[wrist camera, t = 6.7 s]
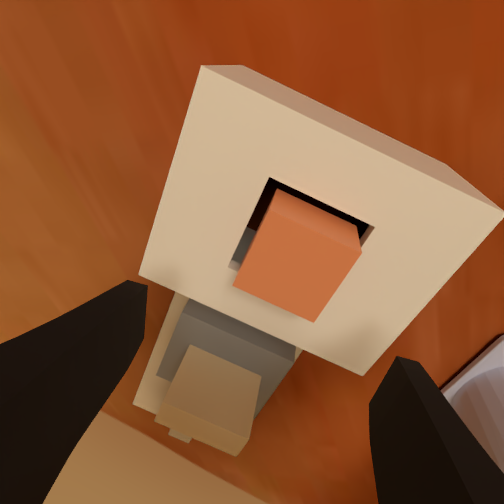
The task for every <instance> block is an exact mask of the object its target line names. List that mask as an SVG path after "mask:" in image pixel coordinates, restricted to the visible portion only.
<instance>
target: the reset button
mask: <svg viewBox="0 0 504 504" xmlns="http://www.w3.org/2000/svg"><path fill="white" fill-rule="evenodd" d="M361 254H362V250H361V246H360V241H359V236H358V231H357V227H356V225H354V224H351V223H349V222H347V221H345V220H343V219H341V218H339V217H337V216H334V215H332V214H330V213H328V212H326V211H324V210H322V209H320V208H318V207H315V206H313V205H311V204H309V203H307V202H305V201H303V200H301V199H299V198H296V197H294V196H292V195H290V194H288V193H286V192H284V191H282V190H280V189H276V191H275V193H274V196H273V198H272V200H271V202H270V204H269V206H268V208H267V210H266V212H265V214H264V216H263V218H262V220H261V223H260V225H259V227H258V229H257V231H256V233H255V235H254V237H253V239H252V241H251V243H250V245H249V247H248V249H247V252H246V254H245V256H244V258H243V260H242V263H241V265H240V268H239V270H238V273H237V275H236V278H235V280H234V282H233V285H232V286H234V287H236V288H238V289H240V290H243V291H245V292H247V293H249V294H251V295H254V296H256V297H258V298H260V299H262V300H265V301H267V302H269V303H271V304H273V305H275V306H278V307H280V308H282V309H284V310H286V311H289V312H291V313H293V314H295V315H297V316H299V317H302V318H304V319H306V320H308V321H310V322H313V323H314V322H315V320H316V319H317V318H318V316H319V315H320V313H321V312H322V310H323V309H324V307H325V306H326V305H327V303H328V302H329V300H330V299H331V297H332V296H333V294H334V293H335V292H336V290H337V289H338V287H339V286H340V284H341V283H342V281H343V280H344V279H345V277H346V276H347V274H348V273H349V271H350V270H351V268H352V267H353V265H354V264H355V263H356V261H357V260H358V258H359V257H360V255H361Z"/></svg>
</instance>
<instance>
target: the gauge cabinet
mask: <svg viewBox="0 0 504 504" xmlns="http://www.w3.org/2000/svg"><path fill="white" fill-rule="evenodd" d="M269 177H271V178H273V179H275V180H277V181H279V182H281V183H283V184H285V185H287V186H290V187H292V188H294V189H296V190H298V191H300V192H302V193H304V194H306V195H309V196H311V197H313V198H315V199H317V200H319V201H321V202H323V203H325V204H328V205H330V206H332V207H334V208H336V209H338V210H340V211H342V212H344V213H346V214H349V215H351V216H353V217H355V218H357V219H359V220H361V221H363V222H365V223H368V224H370V225H369V227H368V228H367V230H366V231H365V233H364V234H363V236H362V237H361V239H360V240H359V241H360V246H361V250H362V254H361V255H360V257H359V258H358V260H357V261H356V263H355V264H354V265H353V267H352V268H351V270H350V271H349V273H348V274H347V276H346V277H345V279H344V280H343V281H342V283H341V284H340V286H339V287H338V289H337V290H336V292H335V293H334V294H333V296H332V297H331V299H330V300H329V302H328V303H327V305H326V306H325V307H324V309H323V310H322V312H321V313H320V315H319V316H318V318H317V319H316V320H315V322H314V323H313V322H310V321H308V320H306V319H304V318H302V317H299V316H297V315H295V314H293V313H291V312H289V311H286V310H284V309H282V308H280V307H278V306H275V305H273V304H271V303H269V302H267V301H265V300H262V299H260V298H258V297H256V296H254V295H251V294H249V293H247V292H245V291H243V290H240V289H238V288H236V287H234V286H232V285H233V282H234V280H235V278H236V275H237V273H238V270H239V268H240V265H241V263H242V260H243V258H244V256H245V254H246V252H247V249H248V247H249V245H250V243H251V241H252V239H253V237H254V235H255V233H256V231H255V230H252V229H250V228H248V227H246V226H247V224H248V222H249V220H250V217H251V215H252V213H253V211H254V209H255V207H256V204H257V202H258V200H259V198H260V196H261V194H262V191H263V189H264V187H265V185H266V183H267V181H268V178H269ZM503 218H504V211H503V210H502V209H501V208H499V207H498V206H497V205H496V204H494V203H493V202H492V201H491V200H489V199H488V198H487V197H486V196H484V195H483V194H482V193H481V192H480V191H478V190H477V189H476V188H475V187H473V186H472V185H471V184H470V183H468V182H467V181H466V180H465V179H463V178H462V177H461V176H460V175H459V174H457V173H456V172H455V171H454V170H452V169H451V168H450V167H449V166H447V165H446V164H444V163H442V162H440V161H438V160H436V159H434V158H432V157H430V156H428V155H426V154H424V153H422V152H420V151H418V150H416V149H414V148H412V147H409V146H407V145H405V144H403V143H401V142H399V141H397V140H395V139H393V138H391V137H389V136H387V135H385V134H383V133H381V132H379V131H377V130H375V129H373V128H370V127H368V126H366V125H364V124H362V123H360V122H358V121H356V120H354V119H352V118H350V117H348V116H346V115H344V114H342V113H340V112H338V111H336V110H334V109H331V108H329V107H327V106H325V105H323V104H321V103H319V102H317V101H315V100H313V99H311V98H309V97H307V96H305V95H303V94H301V93H299V92H297V91H295V90H292V89H290V88H288V87H286V86H284V85H282V84H280V83H278V82H276V81H274V80H272V79H270V78H268V77H266V76H264V75H262V74H260V73H258V72H256V71H253V70H251V69H249V68H247V67H245V66H243V65H208V66H201V68H200V72H199V75H198V78H197V81H196V85H195V88H194V91H193V95H192V98H191V101H190V105H189V108H188V111H187V115H186V118H185V121H184V125H183V128H182V131H181V135H180V138H179V141H178V145H177V148H176V151H175V154H174V158H173V161H172V164H171V168H170V171H169V174H168V178H167V181H166V184H165V188H164V191H163V194H162V198H161V201H160V204H159V208H158V211H157V214H156V218H155V221H154V224H153V227H152V231H151V234H150V237H149V241H148V244H147V247H146V251H145V254H144V257H143V261H142V264H141V267H140V271H139V274H138V275H140V276H142V277H144V278H147V279H149V280H151V281H153V282H156V283H158V284H160V285H162V286H164V287H167V288H169V289H171V290H173V291H175V292H178V293H180V294H182V295H184V296H186V297H189V298H191V299H193V300H195V301H197V302H200V303H202V304H204V305H206V306H208V307H211V308H213V309H215V310H217V311H220V312H222V313H224V314H226V315H228V316H231V317H233V318H235V319H237V320H239V321H242V322H244V323H246V324H248V325H250V326H253V327H255V328H257V329H259V330H261V331H264V332H266V333H268V334H270V335H272V336H275V337H277V338H279V339H281V340H284V341H286V342H288V343H290V344H292V345H295V346H297V347H299V348H301V349H303V350H306V351H308V352H310V353H312V354H314V355H317V356H319V357H321V358H323V359H325V360H328V361H330V362H332V363H334V364H336V365H339V366H341V367H343V368H345V369H348V370H350V371H352V372H354V373H356V374H359V375H361V376H363V375H364V374H365V373H366V372H367V371H368V370H369V368H370V367H371V366H372V365H373V364H374V363H375V362H376V361H377V359H378V358H379V357H380V356H381V355H382V354H383V353H384V352H385V350H386V349H387V348H388V347H389V346H390V345H391V344H392V343H393V341H394V340H395V339H396V338H397V337H398V336H399V335H400V334H401V332H402V331H403V330H404V329H405V328H406V327H407V326H408V325H409V323H410V322H411V321H412V320H413V319H414V318H415V317H416V316H417V314H418V313H419V312H420V311H421V310H422V309H423V308H424V307H425V305H426V304H427V303H428V302H429V301H430V300H431V299H432V297H433V296H434V295H435V294H436V293H437V292H438V291H439V290H440V288H441V287H442V286H443V285H444V284H445V283H446V282H447V281H448V279H449V278H450V277H451V276H452V275H453V274H454V273H455V272H456V270H457V269H458V268H459V267H460V266H461V265H462V264H463V263H464V261H465V260H466V259H467V258H468V257H469V256H470V255H471V254H472V252H473V251H474V250H475V249H476V248H477V247H478V246H479V245H480V243H481V242H482V241H483V240H484V239H485V238H486V237H487V236H488V234H489V233H490V232H491V231H492V230H493V229H494V228H495V227H496V225H497V224H498V223H499V222H500V221H501V220H502V219H503Z"/></svg>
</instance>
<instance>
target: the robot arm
mask: <svg viewBox="0 0 504 504" xmlns="http://www.w3.org/2000/svg"><path fill="white" fill-rule="evenodd" d="M147 289H148V286H147V285H144V284H140V283H136V282H133V281H129V280H127V281H125V282H123V283H121V284H119V285H117V286H115V287H114V288H112V289H110V290H108V291H106V292H104V293H103V294H101V295H99V296H97V297H95V298H93V299H92V300H90V301H88V302H86V303H84V304H82V305H81V306H79V307H77V308H75V309H73V310H71V311H69V312H67V313H65V314H63V315H61V316H60V317H58V318H56V319H54V320H51V321H49V322H47V323H45V324H43V325H41V326H39V327H37V328H35V329H33V330H30V331H28V332H26V333H24V334H22V335H20V336H18V337H15V338H13V339H11V340H9V341H6V342H4V343H1V344H0V504H43V502H44V500H45V498H46V496H47V494H48V493H49V491H50V489H51V487H52V485H53V484H54V482H55V480H56V479H57V477H58V475H59V473H60V471H61V470H62V468H63V466H64V464H65V463H66V461H67V459H68V457H69V456H70V454H71V452H72V451H73V449H74V448H75V446H76V444H77V443H78V441H79V440H80V438H81V437H82V436H83V434H84V433H85V431H86V430H87V428H88V427H89V425H90V424H91V422H92V420H93V419H94V418H95V416H96V415H97V414H98V412H99V411H100V409H101V408H102V406H103V405H104V403H105V402H106V401H107V399H108V398H109V396H110V395H111V393H112V392H113V390H114V389H115V387H116V386H117V384H118V383H119V381H120V380H121V378H122V377H123V376H124V374H125V372H126V371H127V369H128V368H129V366H130V364H131V362H132V360H133V358H134V357H135V355H136V353H137V351H138V349H139V347H140V345H141V343H142V341H143V339H144V329H145V316H146V302H147ZM369 432H370V446H371V454H372V461H373V468H374V475H375V482H376V489H377V496H378V502H379V504H504V335H502V336H501V337H499V338H498V339H497V340H496V341H495V342H494V343H493V344H491V345H490V346H489V347H488V348H487V349H486V350H485V351H484V352H483V353H482V354H480V355H479V356H478V357H477V358H476V359H475V360H474V361H473V362H472V363H471V364H469V365H468V366H467V367H466V368H465V369H464V370H463V371H462V372H461V373H459V374H458V375H457V376H456V377H455V378H454V379H453V380H452V381H451V382H450V383H448V384H447V385H446V386H445V387H444V388H443V389H442V390H441V391H440V390H439V388H438V387H437V385H436V384H435V383H434V381H433V380H432V379H431V377H430V376H429V375H428V373H427V372H426V371H425V369H424V368H423V367H422V365H421V364H420V363H419V362H417V361H413V360H410V359H406V358H402V357H399V356H396V358H395V360H394V362H393V363H392V365H391V367H390V368H389V370H388V372H387V374H386V375H385V377H384V379H383V380H382V382H381V384H380V386H379V387H378V389H377V391H376V393H375V394H374V396H373V398H372V399H371V401H370V403H369Z"/></svg>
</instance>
